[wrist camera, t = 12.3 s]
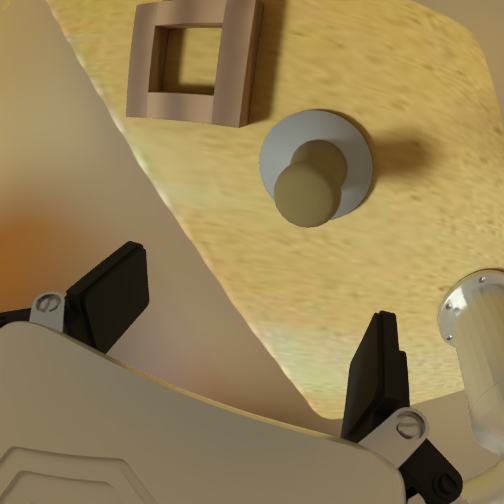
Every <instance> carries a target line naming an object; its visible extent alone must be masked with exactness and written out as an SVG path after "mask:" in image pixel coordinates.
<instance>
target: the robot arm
mask: <svg viewBox="0 0 504 504" xmlns="http://www.w3.org/2000/svg"><path fill="white" fill-rule="evenodd" d="M66 293H67V295H66V296H65V297H63V295H62V294H60V293H58V292H46V293H43V294H41V295H40V296H38V297H37V298H36V299H35V300H34V302H33V304H32V308H27V309H21V310H15V311H8V312H2V313H0V504H504V272H501V271H498V270H482V271H479V272H475V273H473V274H471V275H469V276H467V277H465V278H463V279H462V280H461V281H459V282H458V283H457V284H456V285H455V286H454V287H452V288H451V290H450V291H449V292H448V293H447V295H446V296H445V298H444V300H443V301H442V303H441V306H440V308H439V312H438V327H439V331H440V334H441V336H442V338H443V339H444V341H445V342H447V343H448V344H449V345H451V346H453V347H455V348H456V352H457V356H458V360H459V364H460V369H461V373H462V378H463V382H464V387H465V392H466V397H467V403H468V409H469V415H470V420H471V427H472V431H473V434H474V437H475V438H476V440H477V442H478V443H479V444H480V445H481V446H483V447H484V448H486V449H487V450H489V451H491V452H493V453H496V454H498V455H499V456H500V460H499V461H498V463H496V464H495V465H494V466H492V467H491V468H488V469H487V470H485V471H484V472H482V473H480V474H478V475H476V476H473V477H471V478H469V479H467V480H465V481H462V478H461V475H460V474H459V472H458V471H457V470H456V469H455V468H454V467H453V466H452V465H451V464H450V463H449V462H448V460H446V458H445V457H444V456H443V455H442V454H441V453H440V452H439V451H438V450H437V449H436V448H435V447H434V446H433V445H432V444H431V442H430V441H429V440H428V439H427V436H428V434H429V423H428V421H427V419H426V417H425V416H424V415H423V414H422V413H421V412H420V411H418V410H417V409H414V408H410V401H409V382H408V369H407V357H406V353H405V352H404V351H400V350H399V343H398V332H397V322H396V315H395V314H394V313H390V312H386V311H382V310H381V311H380V312H379V314H378V313H375V314H374V315H373V317H372V320H371V322H370V324H369V326H368V328H367V330H366V332H365V335H364V337H363V339H362V341H361V343H360V345H359V347H358V349H357V351H356V353H355V355H354V357H353V359H352V361H351V364H350V368H349V377H348V386H347V395H346V403H345V410H344V418H343V425H342V431H341V438H339V437H335V436H331V435H328V434H324V433H321V432H316V431H312V430H309V429H304V428H301V427H297V426H294V425H290V424H286V423H283V422H279V421H276V420H272V419H269V418H266V417H262V416H259V415H255V414H252V413H249V412H246V411H243V410H240V409H237V408H234V407H231V406H228V405H225V404H222V403H219V402H216V401H213V400H211V399H208V398H205V397H202V396H200V395H197V394H195V393H192V392H189V391H187V390H184V389H181V388H179V387H177V386H174V385H172V384H169V383H167V382H164V381H162V380H159V379H157V378H155V377H153V376H150V375H148V374H146V373H144V372H141V371H139V370H137V369H135V368H133V367H130V366H128V365H126V364H124V363H122V362H120V361H117V360H116V359H113V358H111V357H109V356H107V355H105V354H106V353H107V352H108V351H109V350H110V348H111V347H112V346H113V345H114V344H115V343H116V341H117V340H118V339H119V338H120V337H121V336H122V335H123V333H124V332H125V331H126V330H127V329H128V328H129V326H130V325H131V324H132V323H133V322H134V321H135V320H136V318H137V317H138V316H139V315H140V314H141V313H142V312H143V311H144V309H145V308H146V307H147V306H148V303H149V290H148V276H147V261H146V250H145V249H144V248H143V246H142V245H141V244H139V243H135V242H132V241H129V242H127V243H126V244H124V245H123V246H122V247H120V248H119V249H118V250H116V251H115V252H114V253H112V254H111V255H110V256H109V257H107V258H106V259H105V260H104V261H102V262H101V263H100V264H99V265H97V266H96V267H95V268H93V269H92V270H91V271H90V272H89V273H87V274H86V275H85V276H84V277H82V278H81V279H80V280H79V281H77V282H76V283H75V284H74V285H73V286H71V287H70V288H69V289H68V290H67V291H66Z"/></svg>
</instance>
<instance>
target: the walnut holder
mask: <svg viewBox="0 0 504 504" xmlns="http://www.w3.org/2000/svg"><path fill="white" fill-rule="evenodd" d="M263 9H264V4H263V3H261V2H260V1H259V0H171V1H162V2H155V3H148V4H141V5H137V7H136V13H135V20H134V28H133V35H132V44H131V53H130V63H129V75H128V89H127V107H126V117H138V118H153V119H166V120H177V121H188V122H197V123H205V124H214V125H221V126H229V127H236V128H240V127H243V126H246V125H248V118H249V111H250V103H251V95H252V88H253V80H254V73H255V65H256V58H257V51H258V43H259V36H260V29H261V22H262V15H263ZM176 28H222V33H221V41H220V48H219V56H218V64H217V72H216V81H215V90H214V94H201V93H186V92H165V91H162V89H163V77H164V67H165V58H166V49H167V40H168V33H169V29H176Z"/></svg>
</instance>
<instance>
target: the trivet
mask: <svg viewBox="0 0 504 504" xmlns="http://www.w3.org/2000/svg"><path fill="white" fill-rule="evenodd" d="M311 140H325V141H328V142H330V143H332V144H334V145H335V146H337V147H338V148H339V149H340V150H341V151H342V153H343V155H344V156H345V158H346V161H347V166H348V171H347V177H346V179H345V181H344V183H343V185H342V187H341V192H342V195H341V202H340V206H339V208H338V210H337V212H336V214H335V215H334V216H333V217H332V218H331V219H330V220H333V219H336V218H339V217H341V216H344V215H346V214H347V213H349V212H350V211H352V210H353V209H354V208H356V207H357V206H358V205H359V204H360V202H361V201H362V200H363V199H364V197H365V196H366V194H367V192H368V190H369V187H370V184H371V181H372V175H373V162H372V156H371V152H370V150H369V147H368V144H367V142H366V141H365V139H364V137H363V136H362V134H361V133H360V132H359V130H358V129H357V128H356V127H355V126H354V125H352V124H351V123H350V122H349V121H347V120H346V119H344V118H342V117H341V116H338V115H336V114H334V113H330V112H327V111H320V110H309V111H302V112H299V113H295V114H293V115H290V116H288V117H286V118H285V119H283V120H281V121H280V122H279V123H278V124H276V125H275V126H274V128H273V129H272V130H271V131H270V132H269V134H268V135H267V137H266V139H265V141H264V143H263V146H262V149H261V153H260V162H259V164H260V173H261V178H262V181H263V184H264V186H265V188H266V190H267V192H268V193H269V195H270V196H271V198H272V199H273V200H274V185H275V183H276V180H277V178H278V176H279V175H280V173H281V172H282V171H283V170H284V169H285V168H286V167H287V166H289V165H290V162H291V159H292V156H293V154H294V152H295V151H296V150H297V148H298V147H299V146H300V145H302V144H304V143H305V142H307V141H311ZM274 201H275V200H274Z"/></svg>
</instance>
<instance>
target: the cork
mask: <svg viewBox="0 0 504 504" xmlns="http://www.w3.org/2000/svg"><path fill="white" fill-rule="evenodd" d="M347 171H348V166H347V161H346V158H345V156H344V155H343V153H342V151H341V150H340V149H339V148H338V147H337V146H335V145H334V144H332V143H330V142H328V141H325V140H311V141H307V142H305V143H304V144H302V145H300V146H299V147H298V148H297V150H296V151H295V152H294V154H293V156H292V159H291V162H290V165H289V166H287V167H286V168H285V169H284V170H283V171H282V172H281V173H280V175H279V176H278V178H277V180H276V183H275V185H274V200H275V203H276V207H277V209H278V210H279V212H280V213H281V215H282V216H283V217H284V218H285V219H286V220H288V221H289V222H290V223H293V224H295V225H297V226H300V227H307V228H310V227H317V226H320V225H322V224H324V223H326V222H328V221H329V220H330V219H331V218H332V217H333V216H334V215H335V214H336V212H337V210H338V208H339V206H340V202H341V195H342V192H341V187H342V185H343V183H344V181H345V179H346V177H347Z"/></svg>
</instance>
